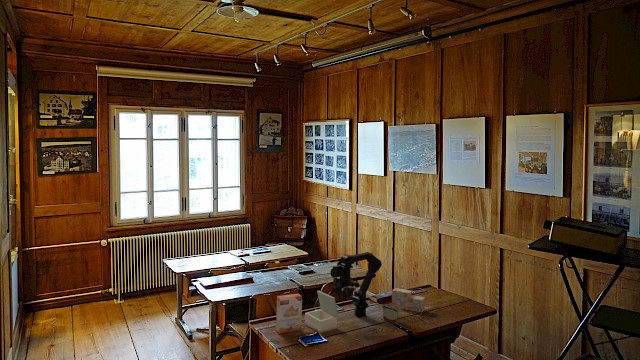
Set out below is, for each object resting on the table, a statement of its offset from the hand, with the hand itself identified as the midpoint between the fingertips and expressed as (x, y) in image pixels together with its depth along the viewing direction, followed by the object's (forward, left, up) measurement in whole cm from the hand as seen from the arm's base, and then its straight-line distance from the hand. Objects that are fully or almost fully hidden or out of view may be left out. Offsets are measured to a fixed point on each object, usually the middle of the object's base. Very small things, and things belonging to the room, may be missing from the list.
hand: (345, 299), depth 286 cm
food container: (-28, +10, -13) cm, 33 cm away
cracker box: (+38, +9, -13) cm, 41 cm away
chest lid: (+14, +5, 0) cm, 14 cm away
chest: (+18, +7, -13) cm, 23 cm away
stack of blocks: (-49, -9, -13) cm, 51 cm away
